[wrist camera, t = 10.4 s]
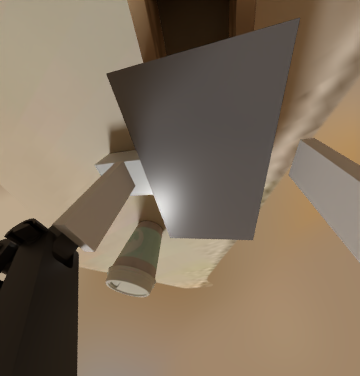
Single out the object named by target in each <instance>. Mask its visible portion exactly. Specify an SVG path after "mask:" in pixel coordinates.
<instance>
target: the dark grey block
mask: <svg viewBox="0 0 360 376" xmlns="http://www.w3.org/2000/svg"><path fill="white" fill-rule="evenodd" d="M299 21H300V18H297V19H294V20H290V21H287V22H283V23H280V24H276V25H273V26H270V27H266V28H263V29H259V30H256V31H252V32H249V33H245V34H242V35H238V36H235V37H231V38H228V39H225V40H221V41H218V42H214V43H211V44H207V45H204V46H200V47H197V48H193V49H190V50H187V51H183V52H180V53H176V54H173V55H169V56H166V57H162V58H159V59H155V60H152V61H149V62H145V63H142V64H138V65H135V66H131V67H128V68H124V69H121V70H117V71H114V72H111V73H107V77H108V79H109V82H110V85H111V87H112V90H113V92H114V95H115V97H116V100H117V103H118V105H119V108H120V110H121V113H122V115H123V118H124V121H125V123H126V126H127V128H128V131H129V133H130V136H131V139H132V141H133V144H134V146H135V149H136V151H137V154H138V157H139V159H140V162H141V164H142V167H143V169H144V172H145V175H146V177H147V180H148V182H149V185H150V187H151V190H152V193H153V195H154V198H155V200H156V203H157V205H158V208H159V210H160V213H161V216H162V218H163V221H164V223H165V226H166V228H167V231H168V234H169V236H170V238H195V239H232V240H253V237H254V233H255V228H256V223H257V219H258V214H259V209H260V204H261V200H262V195H263V190H264V186H265V181H266V176H267V171H268V167H269V162H270V157H271V153H272V148H273V143H274V138H275V134H276V129H277V124H278V120H279V115H280V110H281V105H282V101H283V96H284V91H285V87H286V82H287V77H288V72H289V68H290V63H291V58H292V54H293V49H294V44H295V39H296V35H297V30H298V25H299Z"/></svg>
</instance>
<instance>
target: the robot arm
mask: <svg viewBox="0 0 360 376" xmlns="http://www.w3.org/2000/svg"><path fill="white" fill-rule="evenodd" d="M289 176H290V177H291V179H292V180H293V181H294V182H295V184H296V185H297V186H298V187H299V189H300V190H301V191H302V192H303V193H304V195H305V196H306V197H307V198H308V200H309V201H310V202H311V203H312V204H313V206H314V207H315V208H316V209H317V211H318V212H319V213H320V214H321V216H322V217H323V218H324V219H325V220H326V222H327V223H328V224H329V226H330V227H331V228H332V229H333V230H334V232H335V233H336V234H337V235H338V237H339V238H340V239H341V240H342V242H343V243H344V244H345V245H346V246H347V248H348V249H349V250H350V252H351V253H352V254H353V255H354V256H355V258H356V259H357V260H358V261H359V263H360V165H358V164H357V163H355V162H353V161H351V160H350V159H348V158H347V157H345V156H343V155H341V154H340V153H338V152H336V151H335V150H333V149H332V148H330V147H328V146H327V145H325V144H323V143H322V142H320V141H318V140H317V139H315V138H311V139H303V140H300V142H299V145H298V148H297V151H296V154H295V157H294V160H293V163H292V166H291V169H290V172H289ZM134 187H135V184H134V182H133V180H132V178H131V176H130V174H129V172H128V170H127V167H126V165H125V163H124V161H119V162H115V163H114V164H113V165H112V166H111V167H110V168H109V169H108V170H107V171H106V172H105V173H104V174H103V175H102V176H101V177H100V178H99V179H98V180H97V181H96V182H95V183H94V184H93V185H92V186H91V187H90V188H89V189H88V190H87V191H86V192H85V193H84V194H83V195H82V196H81V197H80V198H79V199H78V200H77V201H76V202H75V203H74V204H73V205H72V206H71V207H70V208H69V209H68V210H67V211H66V212H65V213H64V214H63V215H62V216H61V217H60V218H59V219H58V220H57V221H55V222H54V223H53V224H52V226H51V227H50V228H49V229H48V228H46V227H45V226H44V225H42V224H41V223H40V222H39V221H37V220H36V219H34V218H33V219H29V220H25V221H23V222H21V223H20V224H18V225H16V226H15V227H13V228H12V229H11V230H10V231H8V232H7V234H6V235H5V236H4V237H6V238H7V239H3V240H1V241H0V273H1V272H2V273H4V274H6V278H5V280H4V281H1V280H0V376H77V342H78V341H77V340H78V267H79V254H78V252H77V251H76V249H77V248H78V246H79V247H80V248H81V249H82V250H84V251H88V252H95V250H96V249H97V247H98V246H99V244H100V242H101V241H102V239H103V237H104V236H105V234H106V233H107V231H108V229H109V228H110V226H111V225H112V223H113V221H114V220H115V218H116V217H117V215H118V213H119V212H120V210H121V208H122V207H123V205H124V204H125V202H126V200H127V199H128V197H129V196H130V194H131V192H132V191H133V189H134Z"/></svg>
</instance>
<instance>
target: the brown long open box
mask: <svg viewBox="0 0 360 376" xmlns="http://www.w3.org/2000/svg"><path fill="white" fill-rule="evenodd" d="M127 1H128V5H129V9H130V12H131V16H132V20H133V24H134V28H135V32H136V36H137V40H138V43H139V47H140V51H141V55H142V59H143V63H145V62H149V61H152V60H155V59H159V58H162V57H166V56H167V54H166V49H165V43H164V38H163V32H162V26H161V21H160V15H159V10H158V4H157V0H127ZM255 10H256V0H229V38H231V37H235V36H238V35H242V34H245V33H249V32H252V31H254V22H255Z"/></svg>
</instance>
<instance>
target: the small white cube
mask: <svg viewBox="0 0 360 376" xmlns="http://www.w3.org/2000/svg"><path fill="white" fill-rule="evenodd" d="M119 161H124V163H125V165H126V167H127V170H128V172H129V174H130V176H131V178H132V180H133V182H134V184H135V187H134V189H133V191H132V192H131V194H130V196H136V195H153V193H152V190H151V187H150V185H149V182H148V180H147V177H146V175H145V172H144V169H143V167H142V164H141V162H140V159H139V157H138V154H137V151H136V150H132V151H125V152H117V153H110V154H108V155H107V156H106V157H104V158H103V159H102V160H100V161H99V162H98V163H97V164H95V167H96V168H97V170H98V172H99V173H100V175H101V176H102V175H103V174H104V173H105V172H106V171H107V170H108V169H109V168H110V167H111V166H112V165H113V164H114V163H115V162H119Z"/></svg>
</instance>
